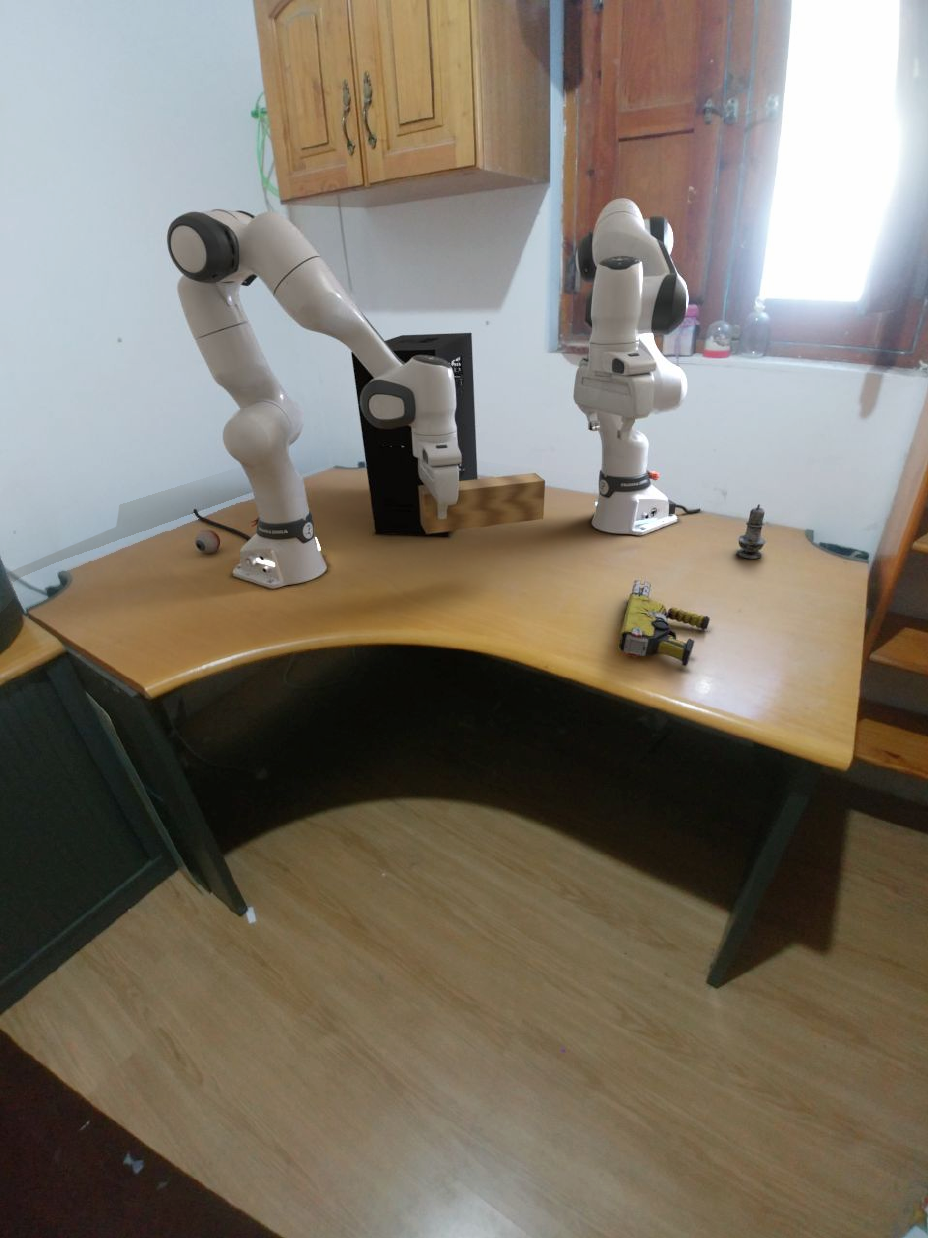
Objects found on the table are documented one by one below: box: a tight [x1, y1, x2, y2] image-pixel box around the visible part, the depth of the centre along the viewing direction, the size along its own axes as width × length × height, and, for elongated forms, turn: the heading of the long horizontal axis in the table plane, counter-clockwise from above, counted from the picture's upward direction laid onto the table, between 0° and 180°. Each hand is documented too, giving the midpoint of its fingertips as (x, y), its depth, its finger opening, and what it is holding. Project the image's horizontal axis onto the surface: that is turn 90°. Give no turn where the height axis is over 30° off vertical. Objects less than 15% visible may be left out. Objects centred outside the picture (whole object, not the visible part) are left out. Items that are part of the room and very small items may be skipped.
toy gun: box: [617, 579, 711, 667], centre depth 111 cm, size 5×24×15 cm
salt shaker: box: [736, 503, 767, 560], centre depth 136 cm, size 6×6×12 cm
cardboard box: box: [350, 332, 478, 538], centre depth 164 cm, size 38×20×45 cm, turn 167°
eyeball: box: [194, 529, 221, 554], centre depth 155 cm, size 6×6×6 cm
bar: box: [418, 472, 546, 534], centre depth 127 cm, size 26×6×8 cm, turn 106°
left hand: (437, 512), depth 125 cm, fingers closed on bar, 6 cm apart
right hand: (607, 434), depth 118 cm, fingers open, 8 cm apart
